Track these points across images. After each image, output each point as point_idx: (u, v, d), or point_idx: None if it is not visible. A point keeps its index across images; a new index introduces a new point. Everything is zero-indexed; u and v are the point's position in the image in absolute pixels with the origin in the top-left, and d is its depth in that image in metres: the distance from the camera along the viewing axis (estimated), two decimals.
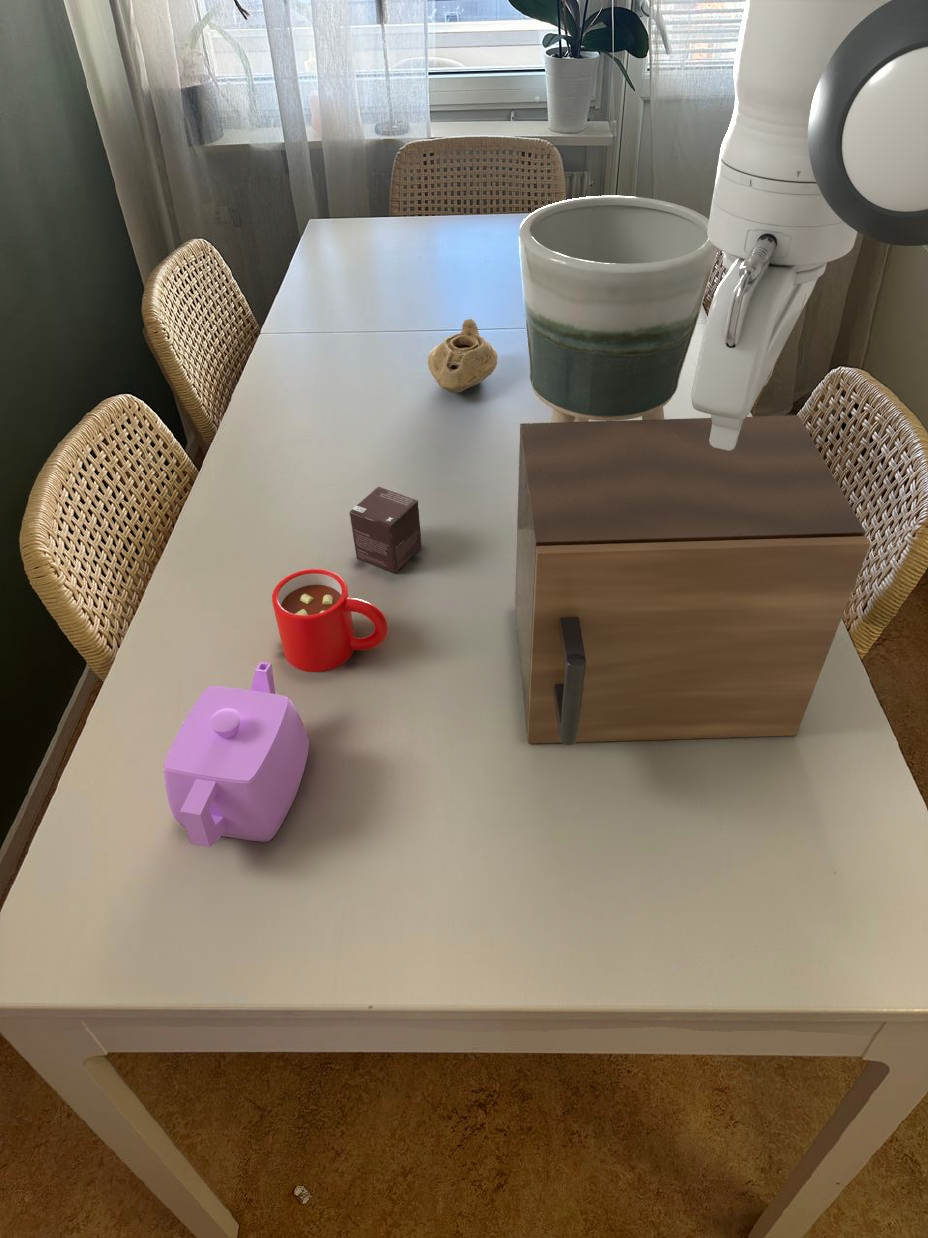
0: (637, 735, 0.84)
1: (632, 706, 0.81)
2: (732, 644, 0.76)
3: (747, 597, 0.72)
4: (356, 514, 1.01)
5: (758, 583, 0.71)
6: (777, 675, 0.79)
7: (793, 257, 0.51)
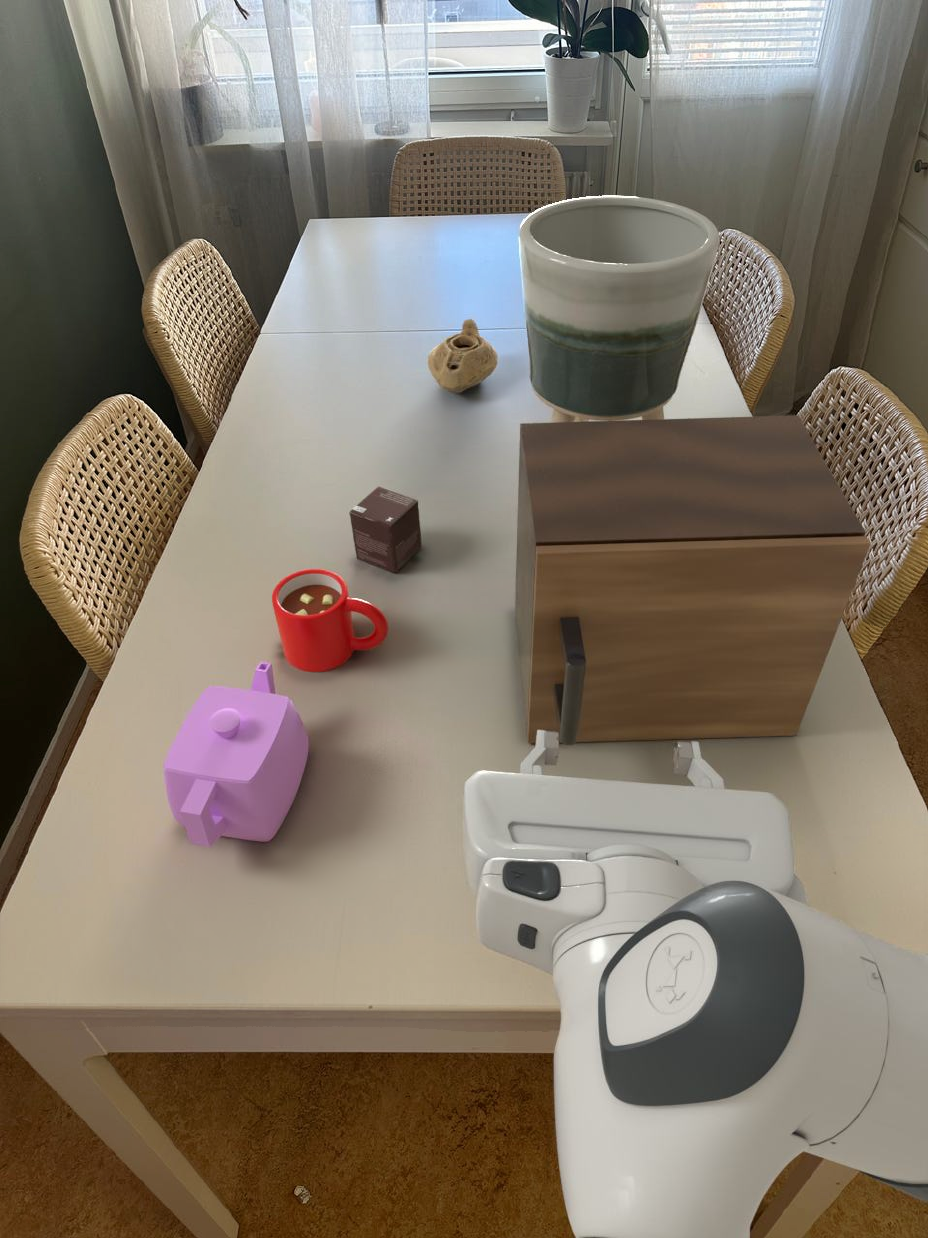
0: (637, 735, 0.84)
1: (632, 706, 0.81)
2: (732, 644, 0.76)
3: (747, 597, 0.72)
4: (356, 514, 1.01)
5: (758, 583, 0.71)
6: (777, 675, 0.79)
7: None
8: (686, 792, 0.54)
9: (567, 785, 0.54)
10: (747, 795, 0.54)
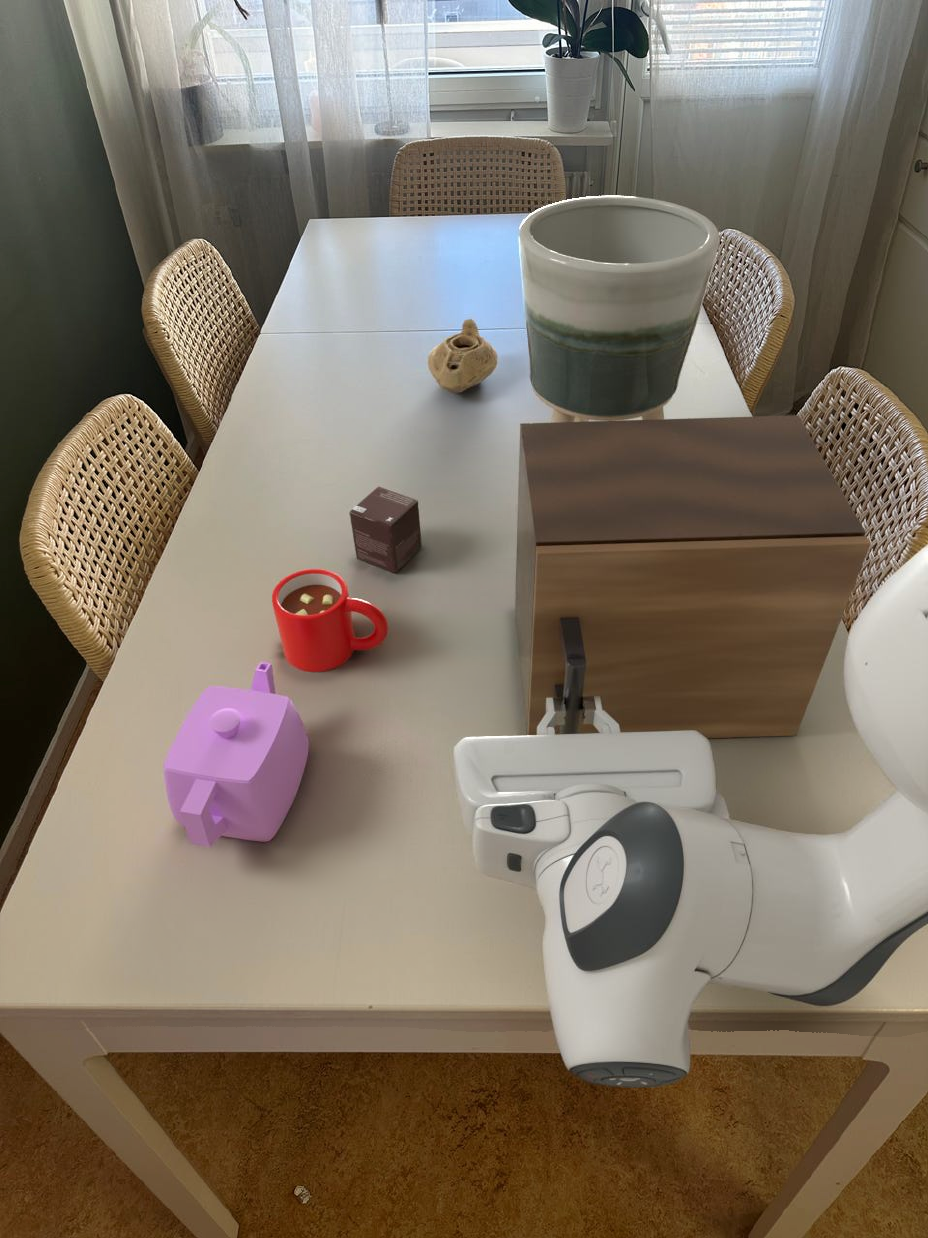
0: None
1: (632, 706, 0.81)
2: (732, 644, 0.76)
3: (747, 597, 0.72)
4: (356, 514, 1.01)
5: (758, 583, 0.71)
6: (777, 675, 0.79)
7: None
8: (629, 737, 0.68)
9: (535, 742, 0.68)
10: (677, 734, 0.68)
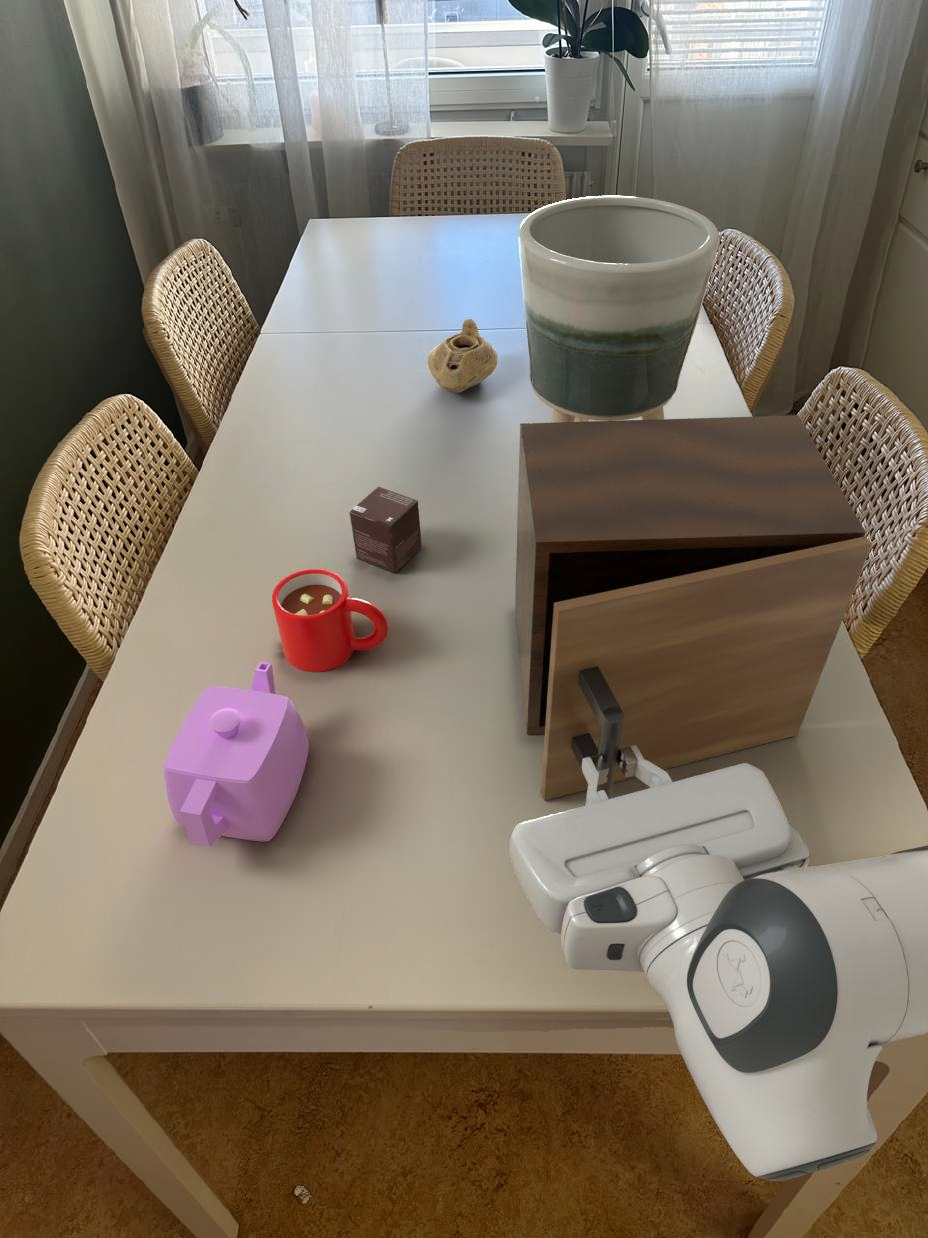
0: None
1: (647, 741, 0.78)
2: (743, 662, 0.74)
3: (759, 615, 0.70)
4: (356, 514, 1.01)
5: (770, 600, 0.70)
6: (783, 683, 0.78)
7: None
8: (686, 785, 0.64)
9: (594, 812, 0.63)
10: (731, 771, 0.65)
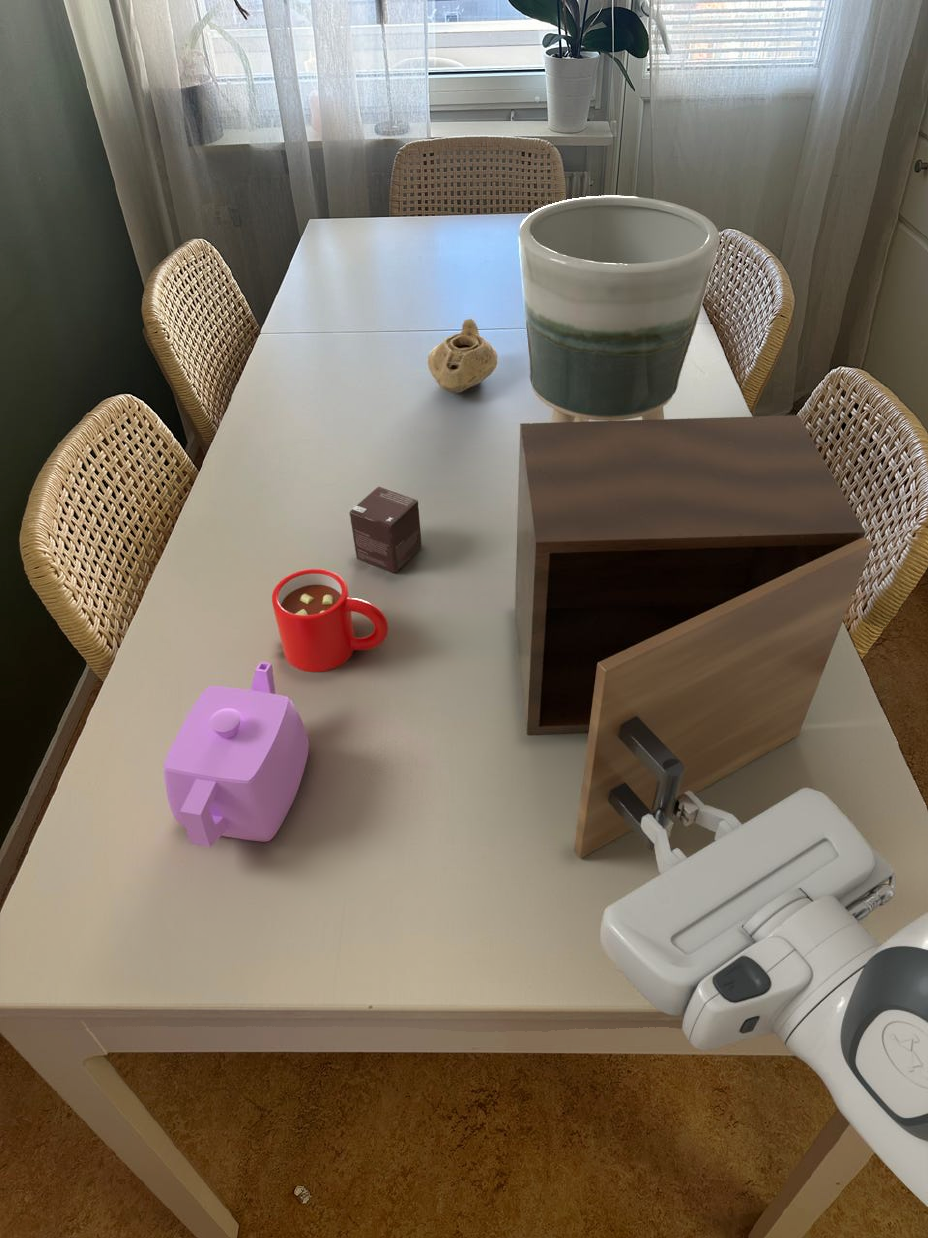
0: None
1: None
2: (761, 680, 0.73)
3: (777, 631, 0.69)
4: (356, 514, 1.01)
5: (787, 615, 0.68)
6: (791, 690, 0.77)
7: None
8: (758, 825, 0.62)
9: (680, 875, 0.59)
10: (795, 800, 0.63)
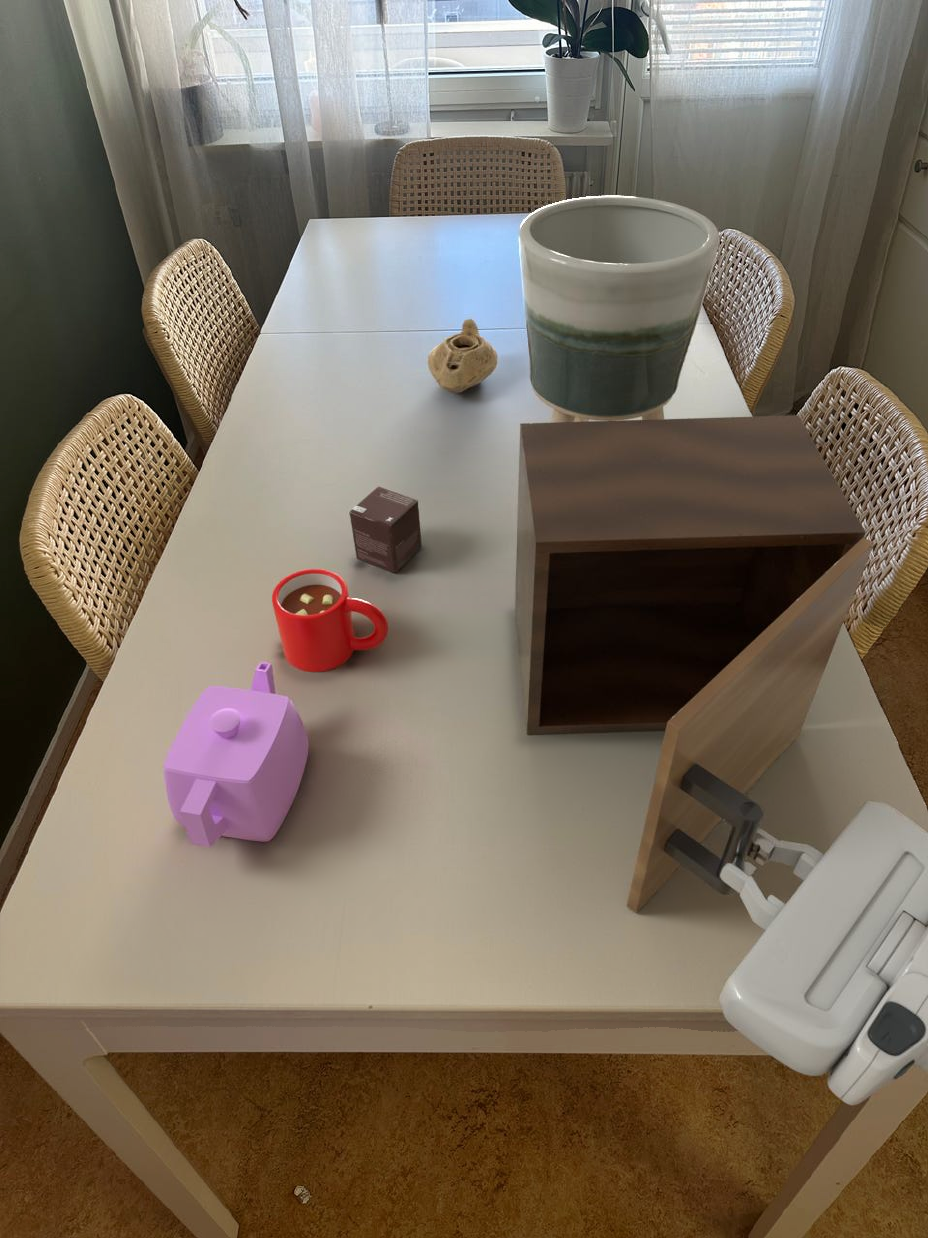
0: (710, 829, 0.77)
1: None
2: (783, 694, 0.72)
3: (801, 646, 0.68)
4: (356, 514, 1.01)
5: (810, 628, 0.67)
6: (801, 696, 0.77)
7: None
8: (841, 852, 0.60)
9: (788, 926, 0.56)
10: (864, 817, 0.62)
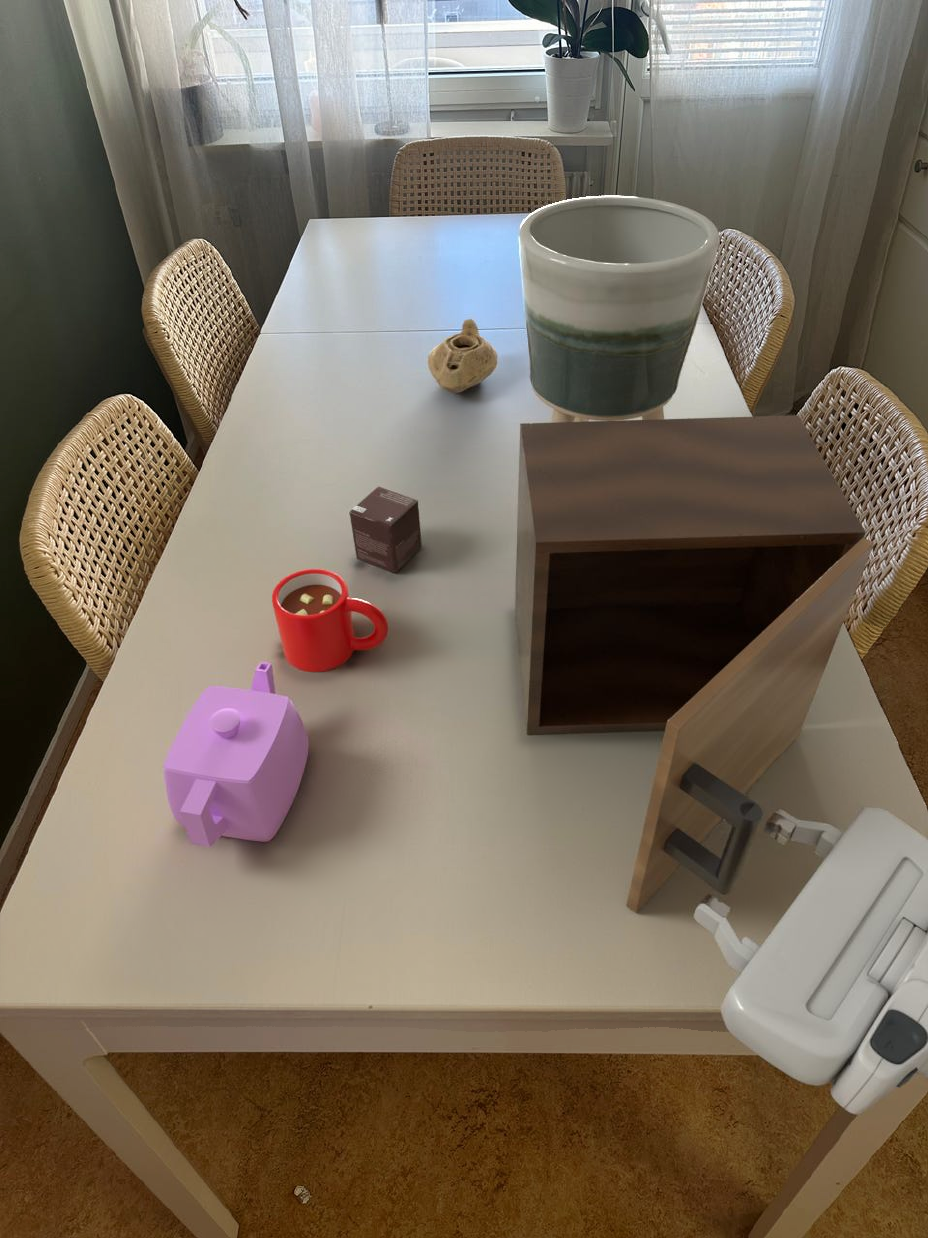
0: (710, 829, 0.77)
1: None
2: (783, 694, 0.72)
3: (801, 646, 0.68)
4: (356, 514, 1.01)
5: (810, 628, 0.67)
6: (801, 696, 0.77)
7: None
8: (839, 859, 0.60)
9: (788, 934, 0.56)
10: (862, 823, 0.62)
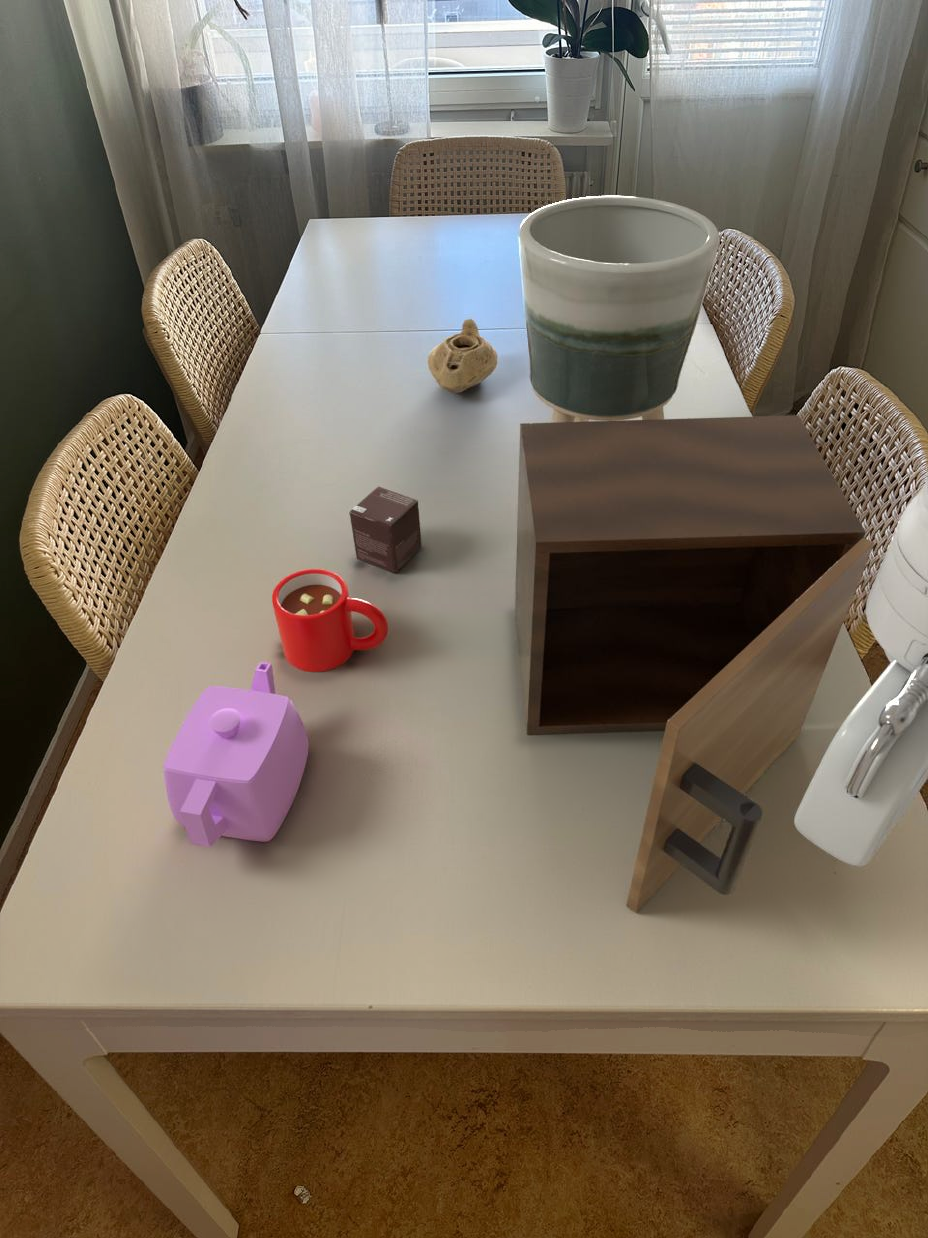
0: (710, 829, 0.77)
1: None
2: (783, 694, 0.72)
3: (801, 646, 0.68)
4: (356, 514, 1.01)
5: (810, 628, 0.67)
6: (801, 696, 0.77)
7: None
8: (920, 788, 0.42)
9: None
10: (884, 840, 0.40)
